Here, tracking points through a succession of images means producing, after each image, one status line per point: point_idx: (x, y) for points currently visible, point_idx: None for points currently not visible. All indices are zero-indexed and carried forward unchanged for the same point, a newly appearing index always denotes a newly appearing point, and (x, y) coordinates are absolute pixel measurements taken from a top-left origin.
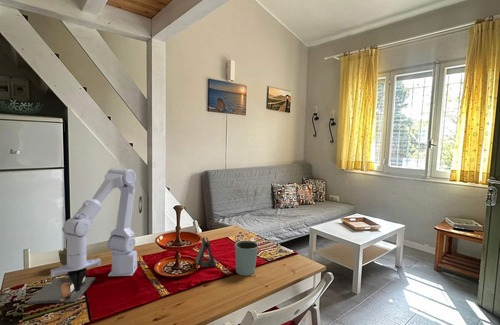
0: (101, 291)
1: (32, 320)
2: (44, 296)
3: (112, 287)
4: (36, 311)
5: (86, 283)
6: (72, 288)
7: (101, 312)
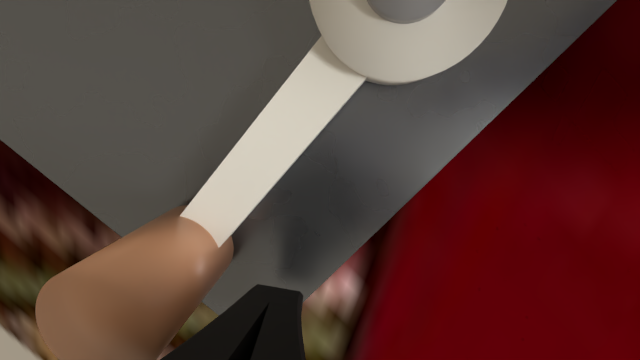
0: (497, 324)
1: (8, 333)
2: (32, 80)
3: (615, 333)
4: (19, 242)
5: (454, 103)
6: (257, 203)
7: None
